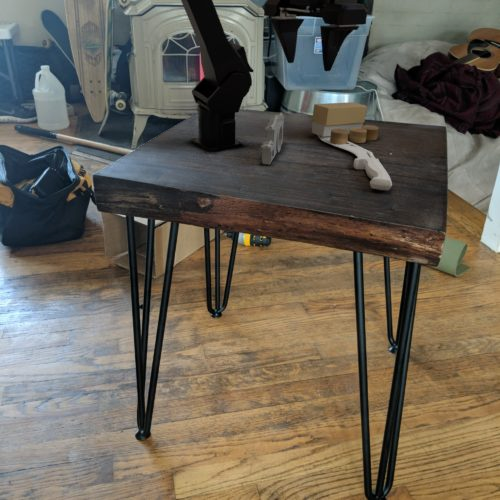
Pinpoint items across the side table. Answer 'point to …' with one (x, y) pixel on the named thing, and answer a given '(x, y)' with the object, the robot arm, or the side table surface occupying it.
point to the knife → (366, 164)
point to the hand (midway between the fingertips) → (308, 66)
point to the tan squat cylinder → (339, 136)
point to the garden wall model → (273, 138)
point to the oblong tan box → (337, 117)
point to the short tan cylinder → (357, 135)
